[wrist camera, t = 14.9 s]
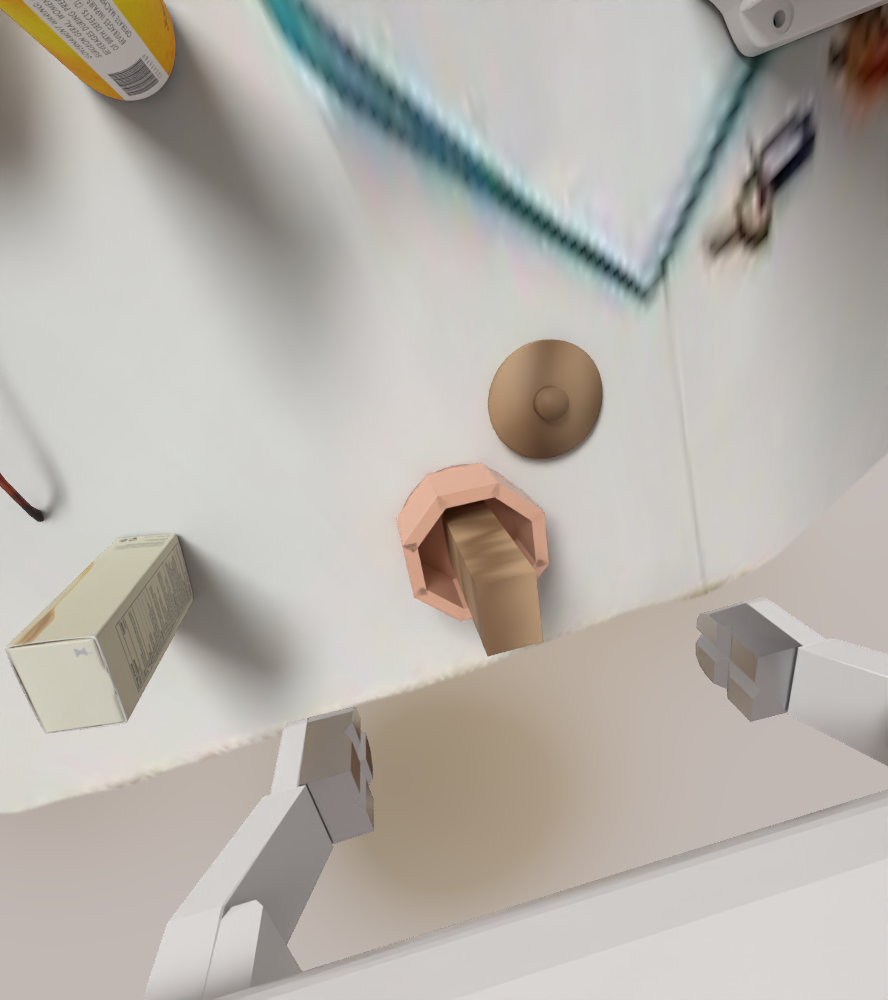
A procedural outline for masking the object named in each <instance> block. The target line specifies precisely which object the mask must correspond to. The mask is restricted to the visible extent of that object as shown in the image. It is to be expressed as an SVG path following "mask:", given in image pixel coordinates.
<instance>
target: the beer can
mask: <svg viewBox="0 0 888 1000" xmlns="http://www.w3.org/2000/svg"><path fill="white" fill-rule="evenodd" d="M0 8H1V9H2V10H3V11H4V12H5V13H6V14H7V15H9V16H10V17H11V18H12V19H13V20H14V21H15V22H16V23H18V24H19V25H20V26H21V27H22V28H23V29H24V30H25V31H27V32H28V33H29V34H30V35H31V36H32V37H33V38H34V39H36V40H37V41H38V42H39V43H40V44H41V45H42V46H43V47H45V48H46V49H47V50H48V51H49V52H50V53H51V54H52V55H54V56H55V57H56V58H57V59H58V60H59V61H60V62H61V63H62V64H64V65H65V66H66V67H67V68H68V69H69V70H70V71H71V72H73V73H74V74H75V75H76V76H77V77H78V78H79V79H80V80H82V81H83V82H84V83H85V84H87V85H88V86H89V87H91V88H92V89H94V90H96V91H97V92H99V93H101V94H103V95H106V96H108V97H111V98H115V99H119V100H130V101H133V100H140V99H143V98H146V97H149V96H151V95H153V94H154V93H156V92H157V91H158V90H159V89H160V88H162V86H163V85H164V84H165V83H166V81H167V79H168V78H169V76H170V74H171V71H172V68H173V65H174V60H175V50H176V45H175V35H174V29H173V25H172V21H171V18H170V15H169V12H168V10H167V8H166V6H165V3H164V2H163V0H0Z"/></svg>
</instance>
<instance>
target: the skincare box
mask: <svg viewBox="0 0 888 1000" xmlns="http://www.w3.org/2000/svg"><path fill="white" fill-rule="evenodd" d="M193 600H194V598H193V593H192V589H191V584H190V580H189V576H188V572H187V569H186V565H185V561H184V558H183V554H182V551H181V547H180V544H179V541H178V537H177V535H176V534H164V535H148V536H136V537H127V538H119V539H116V540H115V541H114V542H113V543H112V544H111V545H110V546H109V547H108V548H107V549H106V550H105V551H104V552H103V553H102V554H101V555H99V556H98V557H97V558H96V559H95V560H94V561H93V562H92V563H91V564H90V565H89V566H88V567H87V568H86V569H85V570H84V571H83V572H82V573H81V574H80V575H79V576H78V577H77V578H76V579H75V580H74V581H73V582H72V583H71V584H70V585H69V586H68V587H67V588H66V589H65V590H64V591H63V592H62V593H61V594H60V595H59V596H58V597H56V598H55V599H54V600H53V601H52V602H51V603H50V604H49V605H48V606H47V607H46V608H45V609H44V610H43V611H42V612H41V613H40V614H39V615H38V616H37V617H36V618H35V619H34V620H33V621H32V622H31V623H30V624H29V625H28V626H27V627H26V628H25V629H24V630H23V631H22V632H21V633H20V634H19V635H18V636H17V637H16V638H15V639H14V640H13V641H12V642H11V643H9V644H8V645H7V646H6V648H5V650H6V653H7V655H8V659H9V661H10V663H11V666H12V668H13V670H14V673H15V675H16V677H17V679H18V682H19V684H20V685H21V688H22V690H23V692H24V694H25V696H26V698H27V700H28V702H29V704H30V706H31V708H32V710H33V712H34V714H35V716H36V718H37V720H38V722H39V723H40V725H41V727H42V729H43V731H44V733H55V732H63V731H72V730H82V729H89V728H97V727H105V726H112V725H120V724H125V723H126V722H127V721H128V719H129V717H130V716H131V714H132V712H133V710H134V708H135V706H136V704H137V703H138V701H139V699H140V697H141V695H142V693H143V692H144V690H145V688H146V686H147V684H148V682H149V680H150V679H151V677H152V675H153V673H154V672H155V670H156V668H157V666H158V664H159V662H160V660H161V659H162V657H163V655H164V653H165V651H166V650H167V648H168V646H169V644H170V642H171V640H172V638H173V637H174V635H175V633H176V631H177V629H178V628H179V626H180V624H181V622H182V620H183V618H184V617H185V615H186V613H187V611H188V609H189V607H190V606H191V604H192V602H193Z"/></svg>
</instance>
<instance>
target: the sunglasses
mask: <svg viewBox="0 0 888 1000" xmlns="http://www.w3.org/2000/svg"><path fill="white" fill-rule="evenodd" d="M0 486H1V487H2V488H3V489H4V490H5V491H6V492H7V493H8V494H9V495H10V496H11V497H12V498H13V499H14V500H15V501H16V502H17V503H18V504H19V505H20V506H21V507H22V508H23V509H24V510H25V511H26V512H27V513H28V514H29V515H30V516H31V517H33V518H34V519H35V520H37V521H38V522H41V521H43V519H44V518H43V515H42V513H41V511H40V510H38V509H36V508H34V507H32V506H31V505H30V504H29V503H28V502H27V501H26V500H25V499H24V498H23V497H22V496H21V495H20V494H19V493H18V492H17V491H16V490H15V489H14V488H13V487H12V486H11V485H10V484H9V483H8V482H7V481H6V480H5V479H4V477H3V476H2V475H1V473H0Z"/></svg>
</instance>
